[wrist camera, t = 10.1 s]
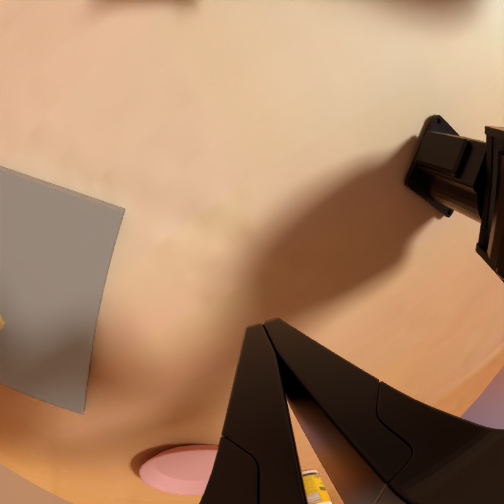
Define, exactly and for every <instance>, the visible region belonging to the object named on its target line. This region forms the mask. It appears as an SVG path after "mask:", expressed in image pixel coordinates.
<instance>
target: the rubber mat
mask: <svg viewBox="0 0 504 504" xmlns="http://www.w3.org/2000/svg"><path fill="white" fill-rule="evenodd" d="M124 212H125V209H124V208H121V207H118V206H115V205H112V204H109V203H106V202H104V201H101V200H98V199H95V198H92V197H89V196H86V195H83V194H80V193H77V192H74V191H72V190H69V189H66V188H63V187H60V186H57V185H54V184H51V183H48V182H45V181H42V180H39V179H37V178H34V177H31V176H28V175H25V174H22V173H19V172H16V171H13V170H10V169H7V168H5V167H2V166H0V316H1V317H2V319H3V321H4V322H5V325H4V326H3V328H2V329H1V331H0V384H2V385H5V386H7V387H9V388H11V389H14V390H16V391H18V392H21V393H23V394H26V395H28V396H31V397H33V398H36V399H38V400H41V401H44V402H46V403H49V404H52V405H55V406H58V407H61V408H64V409H67V410H70V411H73V412H76V413H80V414H83V415H84V410H85V401H86V391H87V382H88V374H89V367H90V360H91V353H92V347H93V341H94V335H95V329H96V324H97V319H98V314H99V309H100V304H101V299H102V295H103V290H104V286H105V281H106V277H107V273H108V269H109V265H110V261H111V257H112V254H113V250H114V246H115V243H116V239H117V235H118V232H119V229H120V225H121V222H122V219H123V215H124Z"/></svg>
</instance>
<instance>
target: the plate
mask: <svg viewBox="0 0 504 504" xmlns="http://www.w3.org/2000/svg"><path fill="white" fill-rule="evenodd" d="M217 450H218V446H216V445H186V446H179V447H175V448H171V449H168V450H165V451H163V452H161V453H159V454H157V455H156V456H154V457H153V458H151V459H149V460H148V461H146V462H145V463H144V464H143V465H142V466H141V467H140V469H139V476H140V478H141V479H142V480H143V481H144V482H145V483H146V484H147V485H149V486H151V487H153V488H155V489H157V490H160V491H163V492H167V493H172V494H179V495H203V494H204V491H205V488H206V486H207V483H208V480H209V477H210V475H211V472H212V468H213V465H214V461H215V458H216V454H217Z"/></svg>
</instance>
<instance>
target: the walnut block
mask: <svg viewBox="0 0 504 504" xmlns="http://www.w3.org/2000/svg"><path fill="white" fill-rule="evenodd" d="M4 325H5V322H4V321H3V319H2V317H1V316H0V331H1V329H2V328H3V326H4Z"/></svg>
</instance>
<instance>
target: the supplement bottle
mask: <svg viewBox="0 0 504 504" xmlns="http://www.w3.org/2000/svg"><path fill="white" fill-rule="evenodd" d="M302 475H303V480H304V485H305V490H306V495H307V499H308V504H332V502H331V500H330V498H329V495H328V493H327V491H326V489H325V487H324V484H323V482H322V480H321V478H320V475H319V473H318V472H317V471H316V470H306V471H302Z"/></svg>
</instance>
